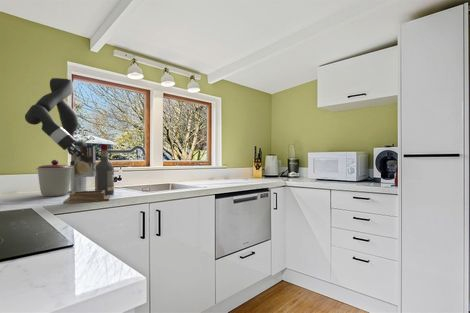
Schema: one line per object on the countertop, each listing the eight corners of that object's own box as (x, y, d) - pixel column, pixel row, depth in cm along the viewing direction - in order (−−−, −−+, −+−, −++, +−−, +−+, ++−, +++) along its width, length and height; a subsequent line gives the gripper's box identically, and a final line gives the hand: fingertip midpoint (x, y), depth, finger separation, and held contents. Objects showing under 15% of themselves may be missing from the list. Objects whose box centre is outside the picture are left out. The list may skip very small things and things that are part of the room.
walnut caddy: (68, 198, 149) (68, 191, 149) (109, 196, 157) (109, 189, 157) (63, 203, 135) (63, 195, 135) (108, 200, 142) (108, 192, 142)
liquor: (94, 196, 160) (93, 144, 160) (98, 194, 169) (98, 144, 169) (111, 195, 162) (110, 144, 162) (114, 193, 170) (114, 144, 171)
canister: (78, 194, 166) (78, 159, 166) (44, 198, 151) (44, 160, 151) (64, 192, 176) (63, 159, 177) (30, 196, 162) (30, 160, 162)
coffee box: (96, 176, 150) (96, 146, 150) (93, 176, 144) (93, 145, 144) (77, 176, 147) (77, 146, 147) (73, 177, 141) (73, 145, 141)
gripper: (66, 132, 136) (93, 156, 140) (71, 134, 149) (95, 156, 154) (53, 143, 134) (81, 167, 138) (60, 144, 147) (84, 166, 152)
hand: (88, 161), depth 146 cm, fingers closed on coffee box, 7 cm apart
